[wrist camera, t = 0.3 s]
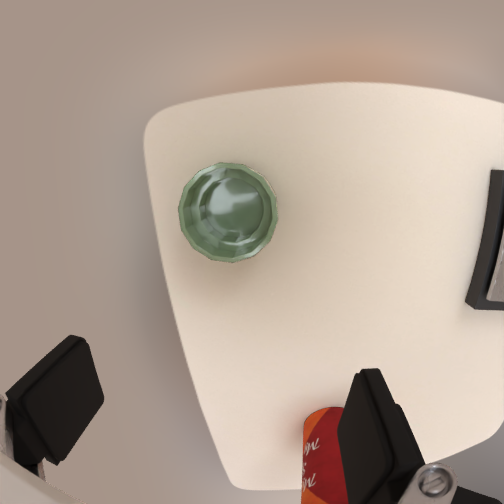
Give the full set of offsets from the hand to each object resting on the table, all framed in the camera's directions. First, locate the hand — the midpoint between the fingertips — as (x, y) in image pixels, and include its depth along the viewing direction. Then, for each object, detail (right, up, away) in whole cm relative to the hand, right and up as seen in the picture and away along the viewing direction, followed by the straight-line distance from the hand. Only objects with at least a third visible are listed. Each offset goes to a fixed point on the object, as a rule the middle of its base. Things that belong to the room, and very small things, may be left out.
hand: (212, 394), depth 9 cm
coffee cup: (+10, -15, +20) cm, 27 cm away
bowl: (0, +8, +15) cm, 17 cm away
